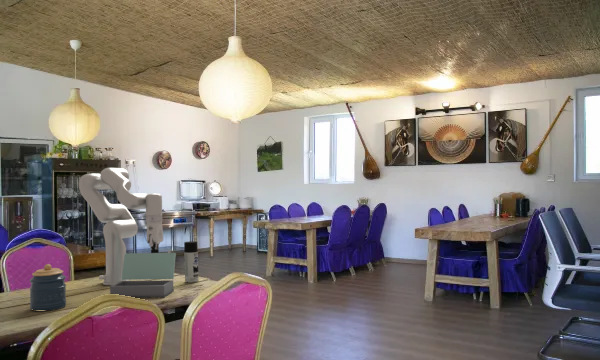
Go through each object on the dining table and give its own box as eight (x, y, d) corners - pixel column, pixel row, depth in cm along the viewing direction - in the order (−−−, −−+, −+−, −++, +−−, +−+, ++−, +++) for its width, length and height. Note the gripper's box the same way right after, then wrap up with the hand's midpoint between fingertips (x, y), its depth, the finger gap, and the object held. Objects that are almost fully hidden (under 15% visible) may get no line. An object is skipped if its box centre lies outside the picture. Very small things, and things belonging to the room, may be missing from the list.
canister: (27, 313, 180) (27, 267, 180) (32, 306, 192) (31, 263, 192) (65, 309, 185) (64, 264, 186) (67, 302, 197) (66, 260, 197)
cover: (124, 253, 219) (125, 253, 220) (121, 279, 215) (122, 279, 216) (175, 252, 218) (175, 253, 219) (172, 278, 214) (173, 279, 215)
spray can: (195, 283, 232) (194, 242, 232) (182, 282, 233) (181, 242, 234) (200, 280, 239) (199, 241, 239) (188, 280, 240) (187, 241, 240)
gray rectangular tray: (110, 298, 204) (110, 286, 204) (122, 291, 215) (122, 280, 216) (164, 297, 202) (164, 285, 202) (173, 291, 214) (173, 280, 214)
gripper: (156, 220, 217) (157, 259, 217) (167, 218, 232) (167, 255, 232) (140, 220, 217) (141, 260, 217) (152, 218, 232) (152, 255, 232)
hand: (155, 257), depth 224 cm, fingers closed
